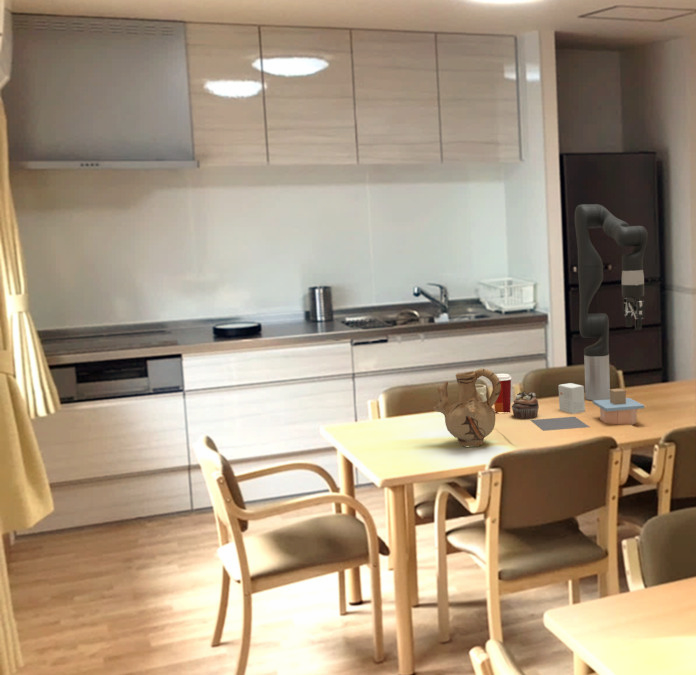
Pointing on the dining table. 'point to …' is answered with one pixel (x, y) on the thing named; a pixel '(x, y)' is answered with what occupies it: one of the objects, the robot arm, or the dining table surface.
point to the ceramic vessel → (469, 408)
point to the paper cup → (504, 394)
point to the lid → (618, 402)
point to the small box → (571, 398)
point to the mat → (559, 423)
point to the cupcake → (525, 406)
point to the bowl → (619, 416)
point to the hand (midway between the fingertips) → (633, 328)
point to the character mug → (481, 391)
